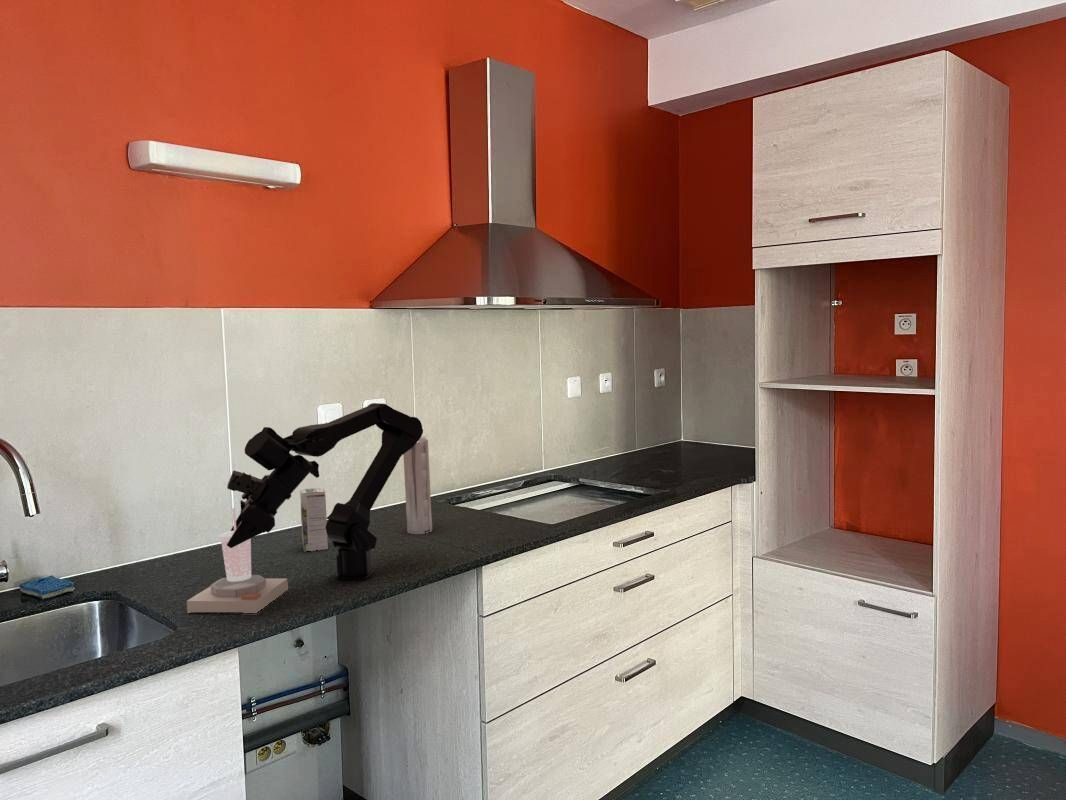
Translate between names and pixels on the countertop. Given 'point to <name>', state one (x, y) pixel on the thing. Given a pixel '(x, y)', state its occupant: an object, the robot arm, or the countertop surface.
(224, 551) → the beverage cup
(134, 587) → the countertop surface
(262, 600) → the base
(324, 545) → the syrup box
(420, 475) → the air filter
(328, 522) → the robot arm
